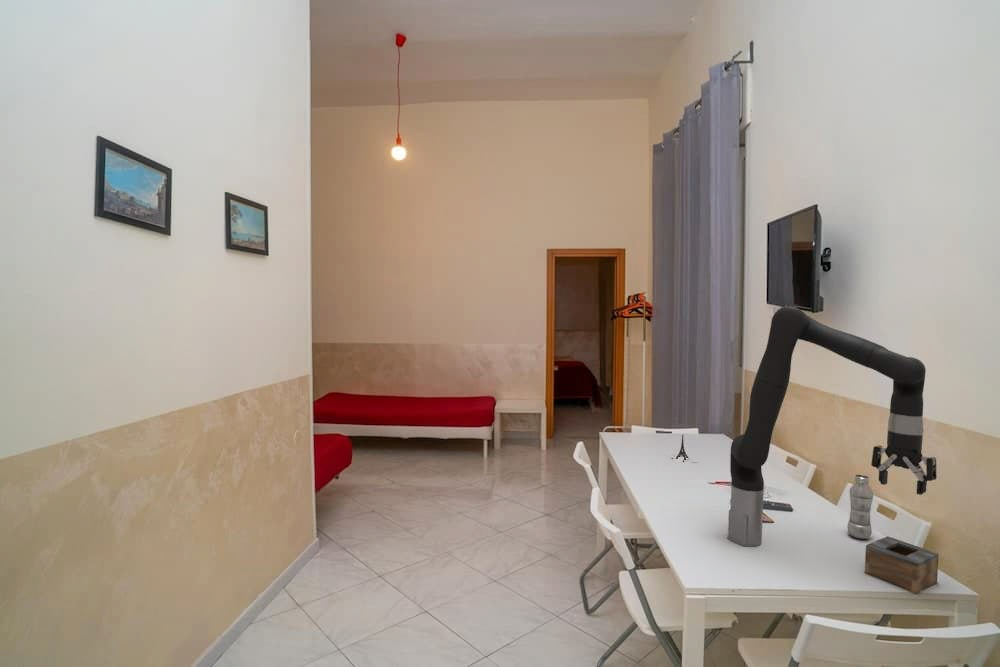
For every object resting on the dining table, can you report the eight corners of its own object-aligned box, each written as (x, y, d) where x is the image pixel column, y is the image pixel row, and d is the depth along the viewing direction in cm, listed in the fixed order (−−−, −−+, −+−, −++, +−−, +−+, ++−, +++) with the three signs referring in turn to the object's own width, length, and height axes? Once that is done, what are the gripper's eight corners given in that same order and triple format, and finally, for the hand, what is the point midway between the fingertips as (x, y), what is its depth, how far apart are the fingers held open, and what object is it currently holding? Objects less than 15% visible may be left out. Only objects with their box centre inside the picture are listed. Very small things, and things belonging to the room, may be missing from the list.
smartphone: (755, 505, 192) (775, 521, 177) (755, 507, 192) (775, 524, 177) (734, 504, 192) (753, 521, 177) (734, 506, 192) (753, 523, 177)
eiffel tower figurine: (664, 455, 260) (665, 429, 260) (683, 455, 262) (683, 429, 261) (678, 464, 245) (679, 436, 245) (698, 463, 247) (699, 436, 246)
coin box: (915, 594, 133) (917, 563, 133) (864, 573, 143) (865, 545, 143) (937, 582, 139) (938, 553, 138) (886, 563, 149) (887, 536, 149)
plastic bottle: (842, 535, 168) (845, 475, 167) (853, 531, 171) (856, 472, 170) (864, 543, 162) (867, 480, 161) (875, 539, 165) (878, 477, 164)
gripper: (868, 426, 145) (865, 483, 145) (930, 438, 132) (926, 499, 133) (882, 424, 148) (879, 479, 149) (943, 435, 136) (939, 495, 136)
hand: (901, 489), depth 141 cm, fingers open, 8 cm apart
